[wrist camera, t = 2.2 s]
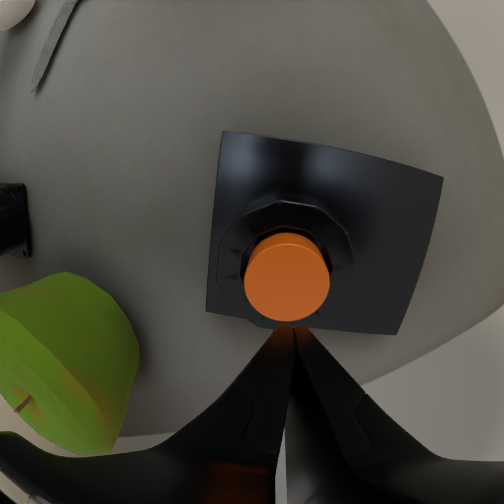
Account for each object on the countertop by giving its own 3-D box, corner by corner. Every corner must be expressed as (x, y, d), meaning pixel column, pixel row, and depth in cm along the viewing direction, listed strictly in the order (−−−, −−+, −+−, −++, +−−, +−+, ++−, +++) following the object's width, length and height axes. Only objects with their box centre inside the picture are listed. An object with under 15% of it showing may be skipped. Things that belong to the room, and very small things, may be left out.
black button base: (213, 294, 18) (197, 328, 15) (229, 134, 15) (213, 127, 11) (386, 317, 18) (405, 352, 14) (426, 173, 14) (461, 181, 11)
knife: (132, -59, 9) (105, -55, 9) (129, -63, 9) (102, -59, 8) (51, 95, 14) (29, 93, 14) (45, 94, 14) (23, 92, 13)
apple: (27, 264, 19) (-61, 322, 9) (125, 237, 18) (-1, 325, 7) (81, 375, 23) (26, 449, 13) (182, 380, 21) (136, 495, 11)
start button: (243, 296, 14) (239, 315, 12) (253, 226, 13) (249, 237, 11) (315, 307, 14) (318, 326, 12) (331, 238, 13) (338, 251, 11)
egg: (39, 25, 12) (-23, 8, 5) (2, 45, 12) (-53, 38, 5) (59, -26, 10) (9, -51, 2) (20, -3, 10) (-28, -17, 3)
